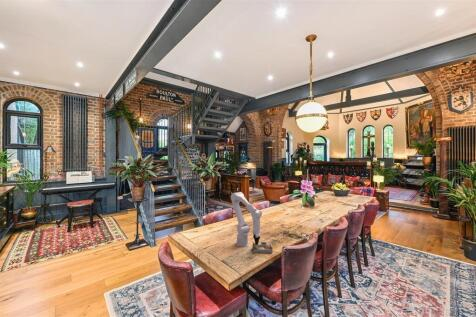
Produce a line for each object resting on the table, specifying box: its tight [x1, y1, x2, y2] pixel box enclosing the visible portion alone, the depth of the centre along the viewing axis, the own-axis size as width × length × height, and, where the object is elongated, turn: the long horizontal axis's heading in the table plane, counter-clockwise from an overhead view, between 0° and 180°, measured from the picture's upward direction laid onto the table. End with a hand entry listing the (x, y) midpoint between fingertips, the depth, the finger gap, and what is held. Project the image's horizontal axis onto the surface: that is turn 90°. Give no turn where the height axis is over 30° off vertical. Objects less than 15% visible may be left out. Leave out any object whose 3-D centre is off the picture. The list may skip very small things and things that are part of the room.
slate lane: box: [253, 242, 273, 254], centre depth 163 cm, size 14×8×4 cm, turn 88°
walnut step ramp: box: [252, 242, 260, 253], centre depth 163 cm, size 6×8×5 cm
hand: (256, 242), depth 163 cm, fingers open, 7 cm apart
